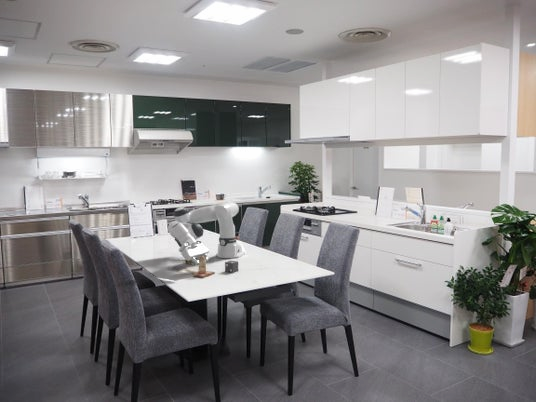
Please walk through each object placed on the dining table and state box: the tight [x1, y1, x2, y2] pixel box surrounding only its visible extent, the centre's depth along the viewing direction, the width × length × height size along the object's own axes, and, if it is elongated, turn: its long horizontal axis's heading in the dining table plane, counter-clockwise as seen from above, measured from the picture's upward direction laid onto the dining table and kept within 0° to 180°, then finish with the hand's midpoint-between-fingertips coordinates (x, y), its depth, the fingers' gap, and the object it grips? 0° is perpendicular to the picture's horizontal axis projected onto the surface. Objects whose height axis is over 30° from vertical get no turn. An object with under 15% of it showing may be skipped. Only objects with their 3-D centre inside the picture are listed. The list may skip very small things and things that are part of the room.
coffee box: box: [185, 240, 202, 266], centre depth 301 cm, size 9×6×16 cm
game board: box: [166, 265, 215, 279], centre depth 282 cm, size 12×30×1 cm, turn 61°
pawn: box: [198, 256, 207, 274], centre depth 277 cm, size 4×4×11 cm
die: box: [224, 260, 239, 274], centre depth 286 cm, size 6×6×6 cm
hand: (203, 262), depth 276 cm, fingers open, 8 cm apart
